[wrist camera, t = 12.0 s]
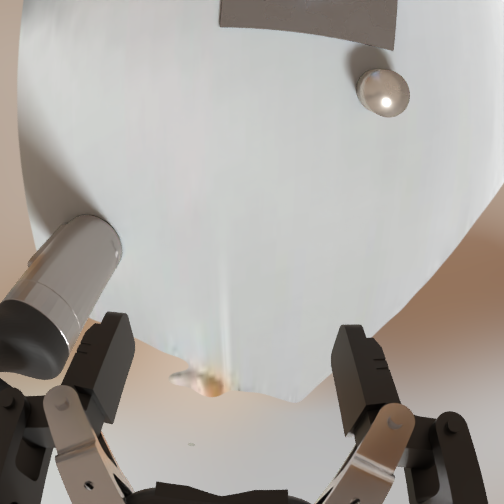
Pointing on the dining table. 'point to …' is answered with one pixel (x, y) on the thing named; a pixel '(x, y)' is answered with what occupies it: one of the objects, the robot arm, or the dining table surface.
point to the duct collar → (318, 18)
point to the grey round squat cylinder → (383, 92)
